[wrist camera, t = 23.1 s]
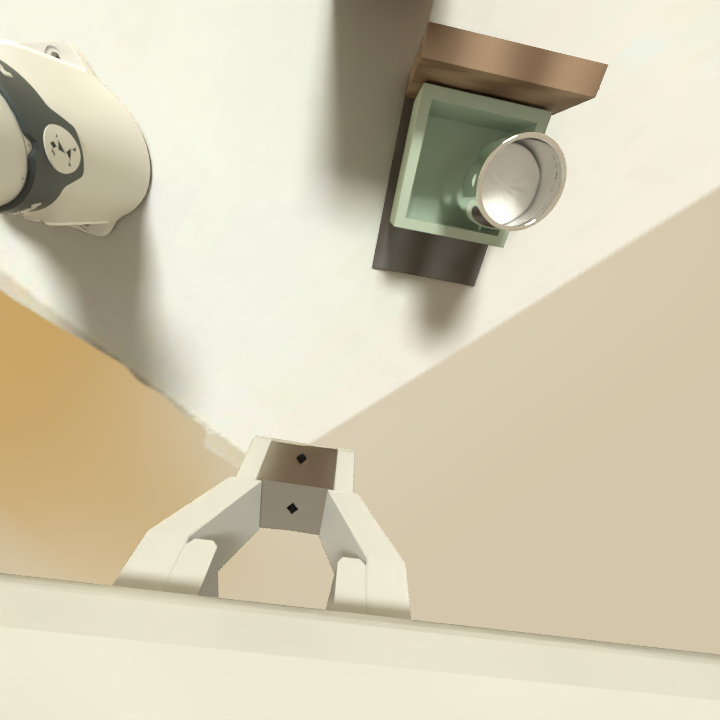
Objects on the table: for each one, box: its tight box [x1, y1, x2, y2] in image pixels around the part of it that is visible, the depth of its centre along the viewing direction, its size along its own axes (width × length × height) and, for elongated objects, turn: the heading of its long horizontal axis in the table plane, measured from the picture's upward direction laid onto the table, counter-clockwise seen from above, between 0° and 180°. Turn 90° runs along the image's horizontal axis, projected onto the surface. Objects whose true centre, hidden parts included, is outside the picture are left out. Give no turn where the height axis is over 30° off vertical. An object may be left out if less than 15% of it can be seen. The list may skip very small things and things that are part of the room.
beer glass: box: [440, 132, 566, 231], centre depth 31 cm, size 7×7×15 cm
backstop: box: [372, 22, 608, 286], centre depth 34 cm, size 14×20×12 cm
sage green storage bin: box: [390, 83, 552, 248], centre depth 35 cm, size 12×12×7 cm
